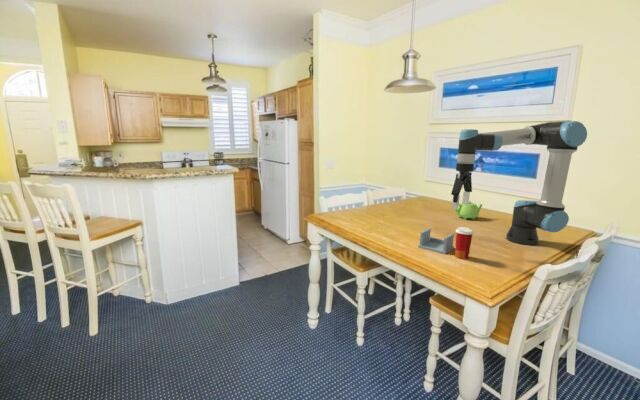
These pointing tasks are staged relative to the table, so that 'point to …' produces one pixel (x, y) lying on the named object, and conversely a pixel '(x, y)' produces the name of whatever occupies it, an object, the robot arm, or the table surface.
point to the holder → (436, 242)
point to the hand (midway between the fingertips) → (460, 206)
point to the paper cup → (463, 242)
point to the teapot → (468, 210)
